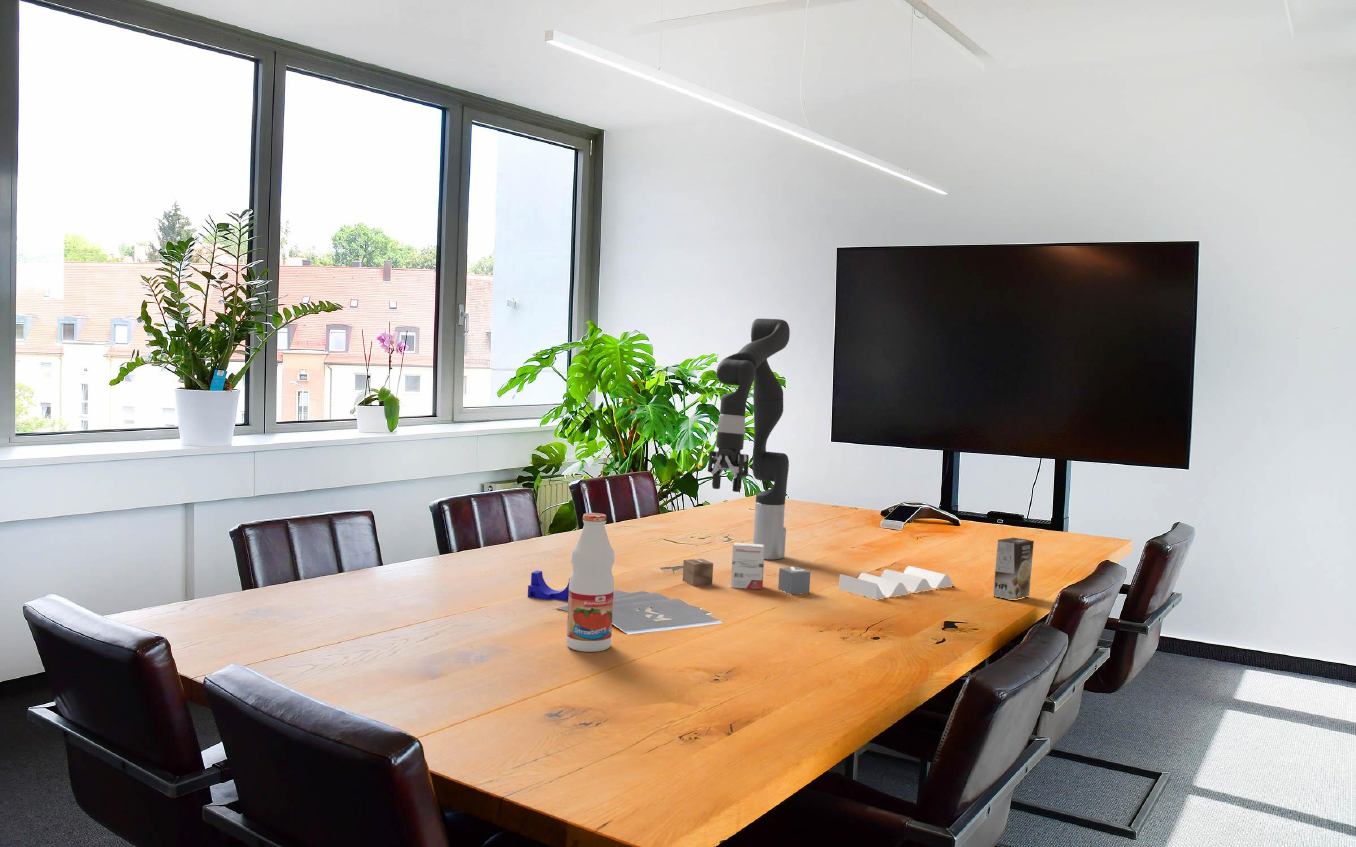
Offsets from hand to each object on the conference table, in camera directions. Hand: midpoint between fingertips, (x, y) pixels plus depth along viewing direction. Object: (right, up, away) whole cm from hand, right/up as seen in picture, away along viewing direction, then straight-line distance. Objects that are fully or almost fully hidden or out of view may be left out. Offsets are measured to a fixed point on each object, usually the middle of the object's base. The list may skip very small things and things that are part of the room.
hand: (725, 490), depth 273 cm
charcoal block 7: (+18, -27, -6) cm, 33 cm away
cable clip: (-44, -26, -26) cm, 58 cm away
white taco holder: (+49, -29, +5) cm, 57 cm away
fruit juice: (-32, -29, -65) cm, 78 cm away
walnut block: (-8, -25, -1) cm, 27 cm away
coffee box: (+79, -30, +1) cm, 85 cm away
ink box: (+5, -26, -3) cm, 27 cm away
